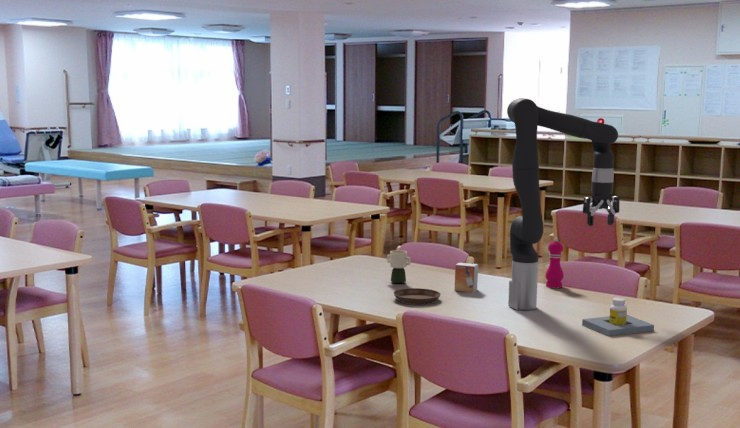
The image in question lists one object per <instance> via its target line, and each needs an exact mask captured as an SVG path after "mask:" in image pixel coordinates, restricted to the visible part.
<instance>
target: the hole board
mask: <svg viewBox="0 0 740 428" xmlns="http://www.w3.org/2000/svg"><path fill="white" fill-rule="evenodd" d="M581 321H582V322H581V323H582V324H581V325H582V326H584V327H586V328H589V329H590V330H593V331H596V332H598V333H600V334H602V335H605V336H606V337H614V336H622V335H632V334H637V333H638V334H639V333H640V334H641V333H646V332H647V333H648V332H654V331H655V324H653V323H650V322H648V321H644V320H643V319H639V318H637V317H634V316H631V315H629V314H627V320H626V325H618V326H615V325H613V324H611V323H609V322H610V315H609V316H601V317H591V318H590V317H589V318H582V320H581Z"/></svg>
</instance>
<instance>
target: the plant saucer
mask: <svg viewBox="0 0 740 428" xmlns="http://www.w3.org/2000/svg"><path fill="white" fill-rule="evenodd" d="M393 295H394V297H395V298H396V300H397V301H398V302H400V303H403V304H406V305H419V306H420V305H430V304H434V303H436V301H438V299H439V298H440V297H441V295H442V294H441V292H440V291H437V290H433V289H428V288H419V287H418V288H416V287H415V288H414V287H413V288H401V289H396V290H394V291H393Z"/></svg>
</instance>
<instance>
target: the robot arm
mask: <svg viewBox="0 0 740 428" xmlns="http://www.w3.org/2000/svg"><path fill="white" fill-rule="evenodd" d="M507 106H508V107H507V108H506V113H507V114H506V115H507V116H508V118H509V120H510V121H511V122H512V123H514V128H515V129H514V130H515V146H514V151H513V155H512V163H511V164H512V165H511V166H512V181H513V182H512V183H513V185H514V186H513V187H514V189H515V191H516V193H517V197H518V198H519V201H520V205H521V214H522V215H519V216H516V217H515V218H514V219H513V221H512V222H511V224H510V229H509V230H510V231H509V240H510V241H509V247H510V254H511V257H512V258H511V259H512V260H511V280H509V283H508V303H507V304H508V307H509V308H512V309H513V310H514V309H515V310H516V311H518V310H520V311H533V310H536V309H537V304H538V303H537V301H538V277H539V275H538V274H539V254H538V252H537V251H536V249H535V247H534V245H535V244H537V243H539V242H540V241H541V240H542V238H543V235H544V221H543V214H542V207H541V195H540V194H541V193H540V191H541V190H540V164H539V151H538V150H539V147H538V126H539V127H543V128H546V129H549V130H553V131H555V132H559V133H562V134H564V135H567V136H571V137H575V138H579V139H582V140H583V139H584V140H585V139H586V140H588V141H589V140H590V141H591V145H592V153H593V159H592V160H593V164H592V167H593V168H592V173H591V174H592V175H591V186H590V187H591V190H590V191H591V192H590V193H591V197H588V196H584V197H583V201H582V202H583V204H582V214H584V215H587V216H586V217H587V218H586V223H587V225H588V226H589V227H593V226H594V215H595V214H596V212H597V211H598V210H602V209H604V210H606V211H607V213H608V214H607V223H606V225H609V226H613V225H614V222H615V215H616V214H617V213H618V214H619V213H620V196H618V195H613V193H614V177H615V176H614V175H615V173H614V172H615V171H614V166H615V165H614V164H615V163H614V162H615V157H614V153H613V152H612V150H611V145H612V144H614V143H615V142H617V140H618V139H619V132H618V130H617V128H616V127H614V126H613V125H610V124H607V123H604V122H603V123H602V122H598V121H592V120H589V119H588V118H584V117H581V116H577V115H573V114H568V113H563V112H559V111H558V112H557V111H553V110H549V109H547V108H546V109H545V108H543V107H541V106H538V105H537V104H536V103H535V101H533V100H532V99H529V98H516V99H514V100H511V101H510V103H509V104H508V105H507Z"/></svg>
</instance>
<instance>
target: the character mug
mask: <svg viewBox="0 0 740 428" xmlns="http://www.w3.org/2000/svg"><path fill="white" fill-rule="evenodd" d="M411 261H412V260H411V257H410V256H408V251H407V250H401V249H396V250H390V251H389V254H387V255H386V262H387V263H389V266H390V268H392V269H391V275H390V281H391V283H394V284H402V283H406V282H407V277H406V276H407V274H406V270H405V268H407V266H410V265H411ZM401 282H402V283H401Z"/></svg>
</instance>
